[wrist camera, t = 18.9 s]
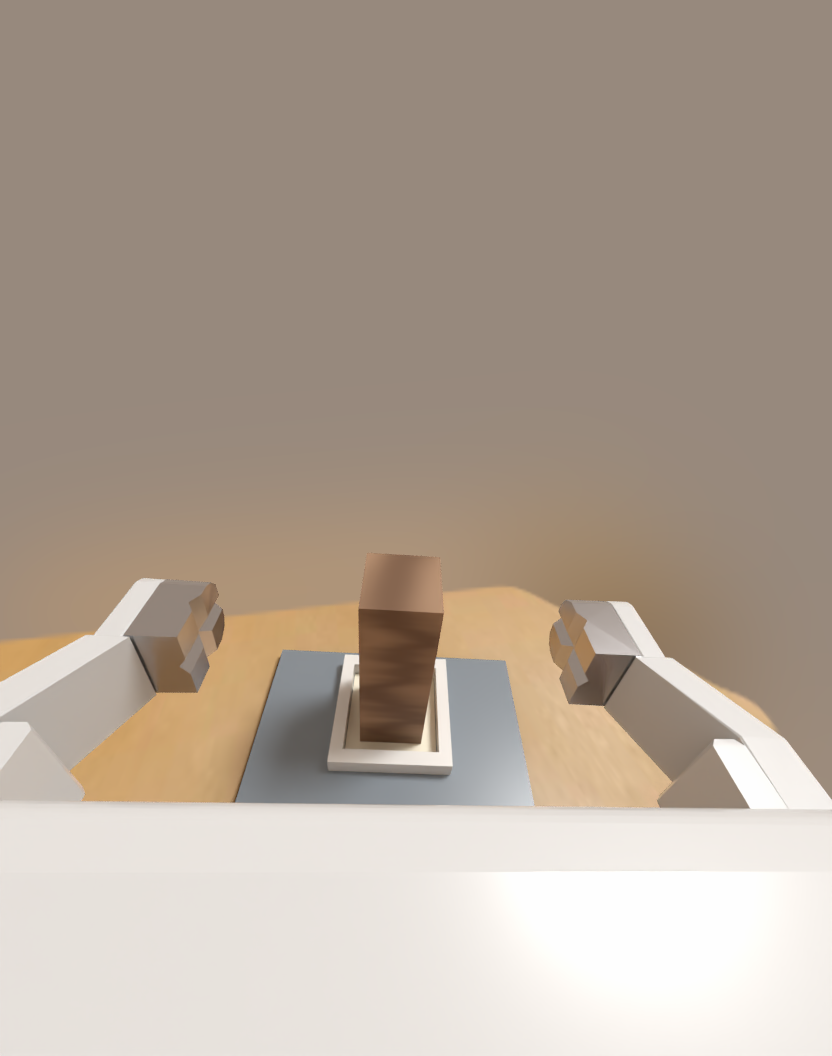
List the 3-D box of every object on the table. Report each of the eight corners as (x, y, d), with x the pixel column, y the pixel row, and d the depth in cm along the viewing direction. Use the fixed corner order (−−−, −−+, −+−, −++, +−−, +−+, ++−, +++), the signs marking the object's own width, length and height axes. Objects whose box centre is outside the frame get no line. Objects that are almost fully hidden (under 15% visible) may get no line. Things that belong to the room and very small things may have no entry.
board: (222, 856, 28) (219, 852, 27) (284, 656, 40) (282, 649, 40) (541, 865, 29) (545, 861, 28) (503, 666, 41) (505, 660, 41)
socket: (328, 770, 32) (327, 761, 31) (345, 664, 39) (345, 654, 38) (450, 775, 32) (452, 766, 31) (443, 668, 40) (445, 659, 39)
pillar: (359, 741, 33) (358, 608, 24) (366, 685, 37) (367, 552, 28) (420, 743, 34) (443, 613, 24) (420, 688, 38) (440, 557, 28)
